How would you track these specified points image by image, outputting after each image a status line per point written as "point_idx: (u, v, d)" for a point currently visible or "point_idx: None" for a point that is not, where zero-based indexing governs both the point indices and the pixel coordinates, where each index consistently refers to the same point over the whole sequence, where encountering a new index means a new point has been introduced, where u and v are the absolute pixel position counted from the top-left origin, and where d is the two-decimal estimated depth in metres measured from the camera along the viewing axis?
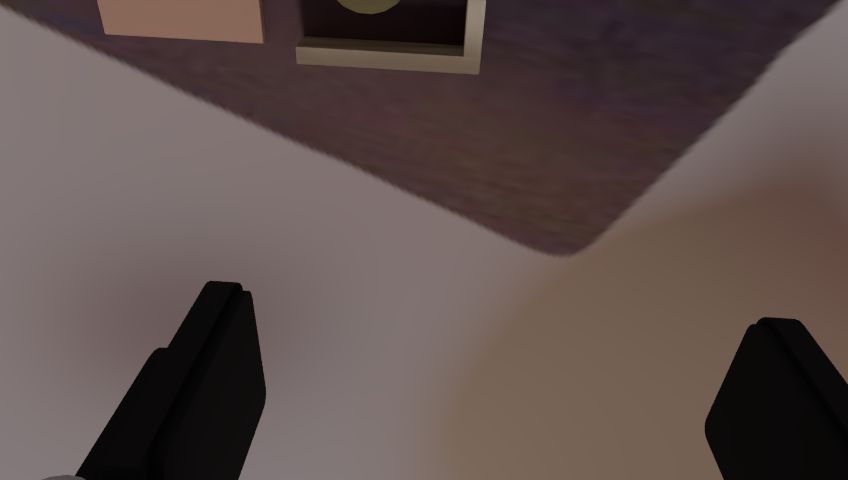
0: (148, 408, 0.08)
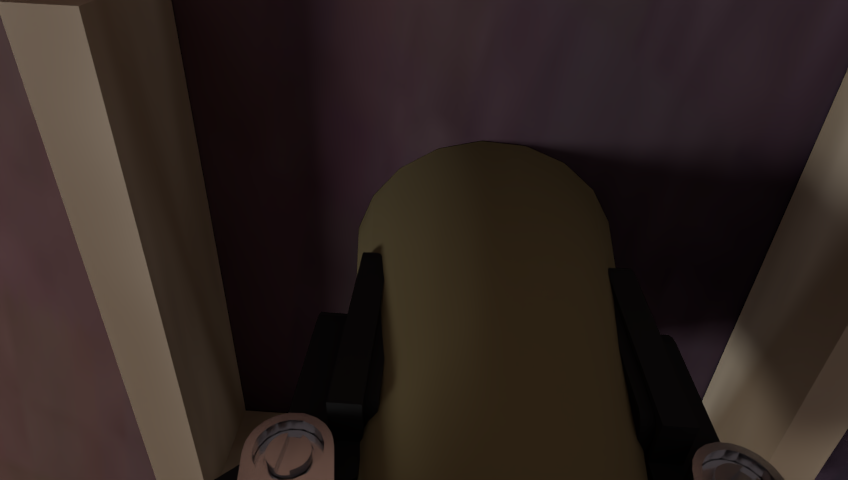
0: (351, 357, 0.09)
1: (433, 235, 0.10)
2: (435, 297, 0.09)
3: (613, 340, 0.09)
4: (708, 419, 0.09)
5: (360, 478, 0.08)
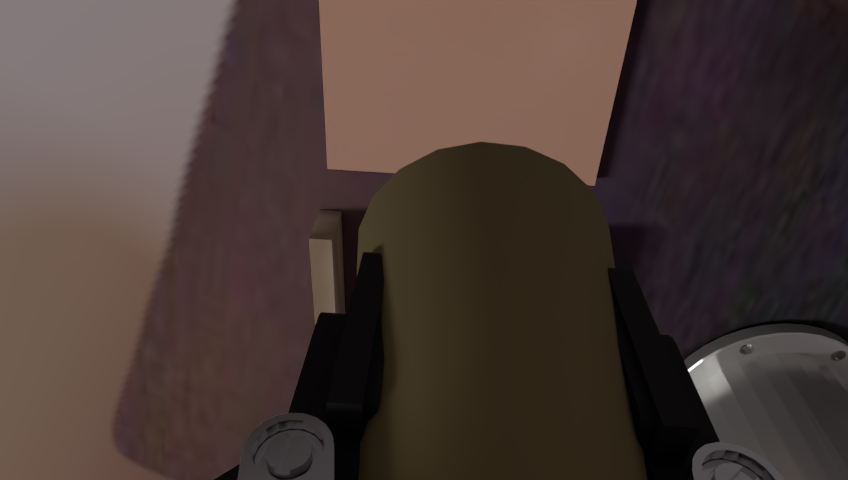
0: (351, 357, 0.09)
1: (433, 236, 0.10)
2: (434, 299, 0.09)
3: (613, 341, 0.09)
4: (708, 419, 0.09)
5: (360, 479, 0.08)
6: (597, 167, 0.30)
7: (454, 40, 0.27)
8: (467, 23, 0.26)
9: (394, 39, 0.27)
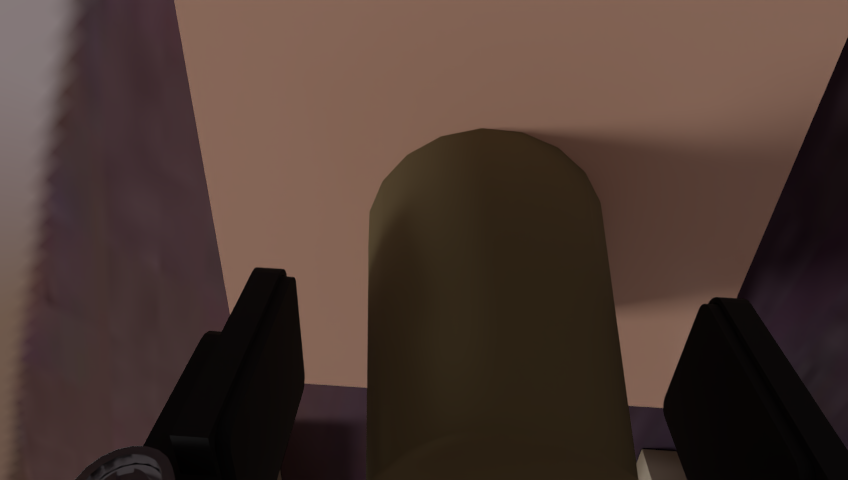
0: (211, 384, 0.08)
1: (438, 212, 0.11)
2: (440, 264, 0.10)
3: (601, 301, 0.10)
4: None
5: (376, 419, 0.09)
6: None
7: None
8: None
9: (342, 195, 0.15)
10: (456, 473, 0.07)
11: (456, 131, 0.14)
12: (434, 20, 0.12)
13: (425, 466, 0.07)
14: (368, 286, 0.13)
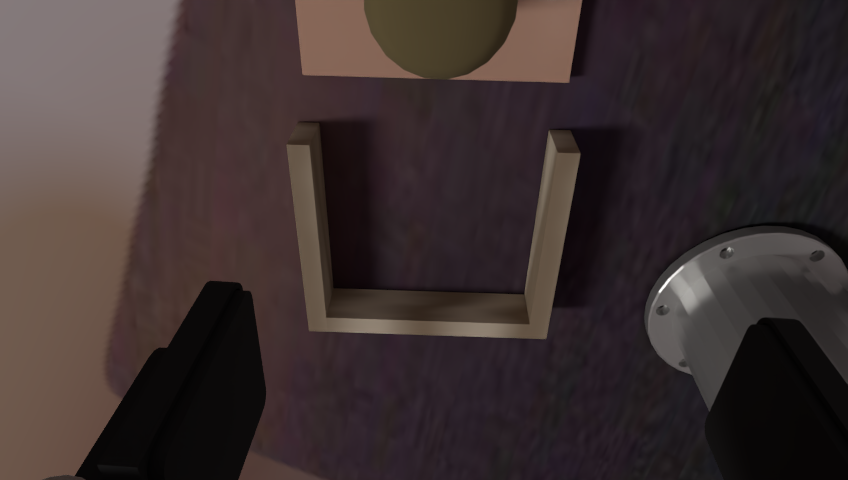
0: (148, 408, 0.08)
1: None
2: None
3: None
4: None
5: None
6: (570, 62, 0.30)
7: None
8: None
9: None
10: None
11: None
12: None
13: None
14: None
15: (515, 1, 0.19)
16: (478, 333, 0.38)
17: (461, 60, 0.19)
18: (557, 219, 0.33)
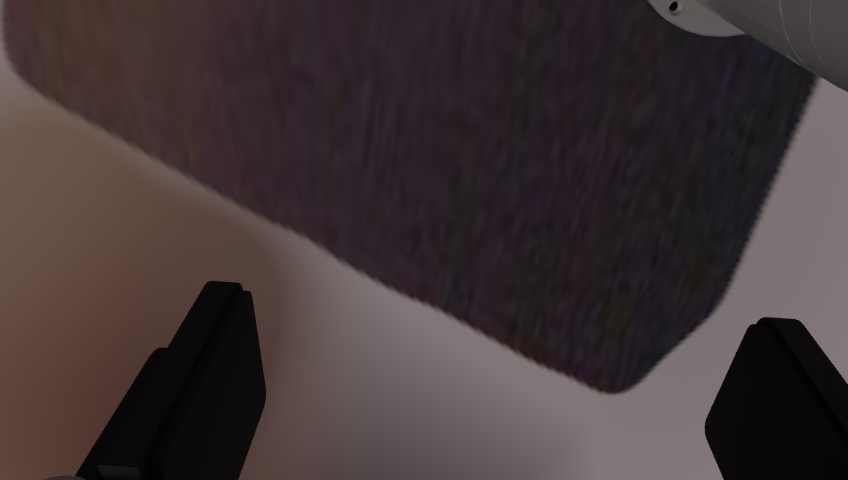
0: (148, 408, 0.08)
1: None
2: None
3: None
4: None
5: None
6: None
7: None
8: None
9: None
10: None
11: None
12: None
13: None
14: None
15: None
16: None
17: None
18: None
